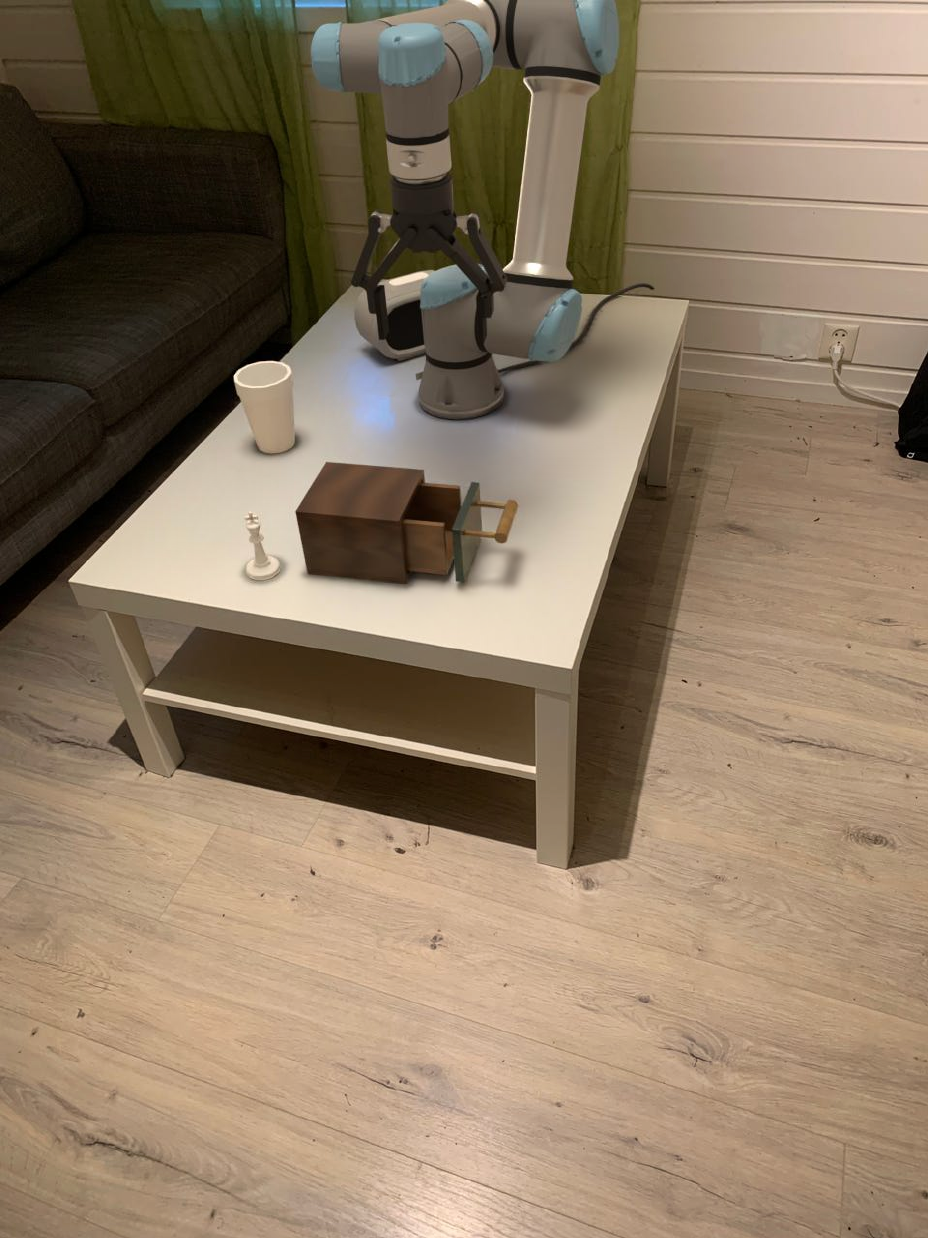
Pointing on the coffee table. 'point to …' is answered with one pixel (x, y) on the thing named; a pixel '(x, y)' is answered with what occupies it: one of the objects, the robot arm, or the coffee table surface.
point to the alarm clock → (396, 317)
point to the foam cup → (268, 403)
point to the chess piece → (259, 554)
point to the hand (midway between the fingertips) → (432, 337)
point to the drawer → (449, 528)
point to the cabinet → (357, 521)
